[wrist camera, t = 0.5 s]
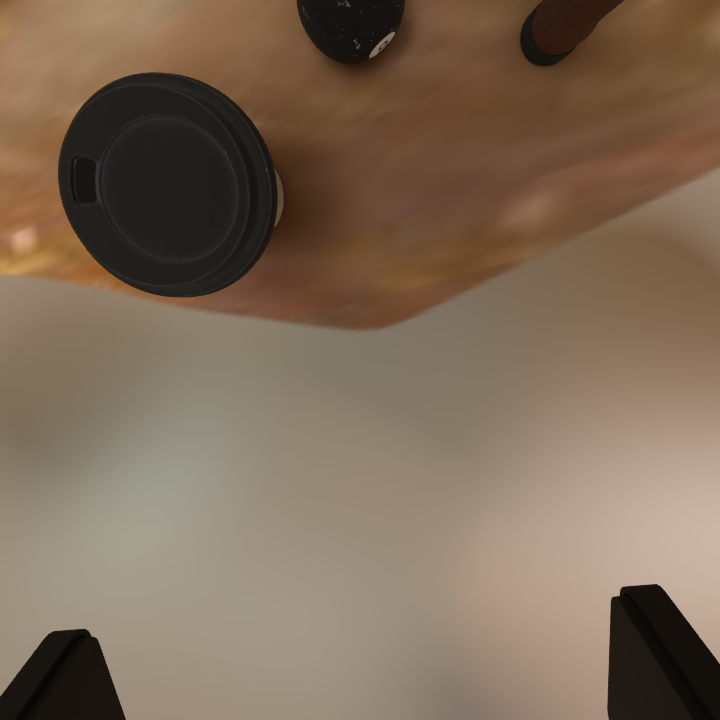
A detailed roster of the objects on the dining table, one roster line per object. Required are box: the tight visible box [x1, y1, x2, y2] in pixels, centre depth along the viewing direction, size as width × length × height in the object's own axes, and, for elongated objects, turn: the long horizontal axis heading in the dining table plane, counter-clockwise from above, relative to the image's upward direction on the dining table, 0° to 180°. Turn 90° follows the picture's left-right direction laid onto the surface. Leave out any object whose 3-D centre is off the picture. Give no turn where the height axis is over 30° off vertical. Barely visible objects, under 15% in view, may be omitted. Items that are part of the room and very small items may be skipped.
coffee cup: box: [58, 72, 284, 297], centre depth 28 cm, size 9×9×15 cm
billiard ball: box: [297, 0, 405, 64], centre depth 29 cm, size 6×6×6 cm
